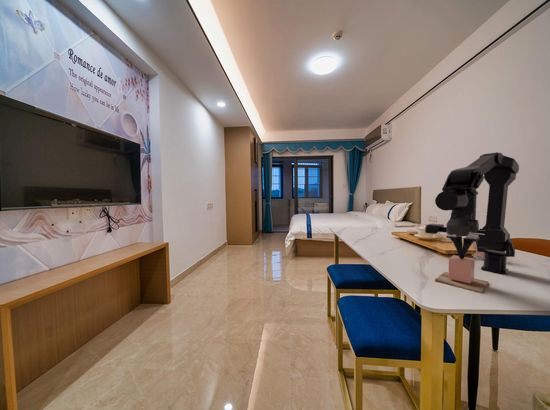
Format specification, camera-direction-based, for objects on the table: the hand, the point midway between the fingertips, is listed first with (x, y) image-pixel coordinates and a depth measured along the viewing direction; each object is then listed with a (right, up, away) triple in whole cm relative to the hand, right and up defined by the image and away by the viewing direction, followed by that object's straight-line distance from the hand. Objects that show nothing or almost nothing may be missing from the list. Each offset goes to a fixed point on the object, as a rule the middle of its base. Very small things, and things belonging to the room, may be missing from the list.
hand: (461, 258), depth 67 cm
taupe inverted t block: (0, -8, 0) cm, 8 cm away
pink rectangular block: (0, -7, 0) cm, 7 cm away
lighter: (+30, -6, +25) cm, 40 cm away
